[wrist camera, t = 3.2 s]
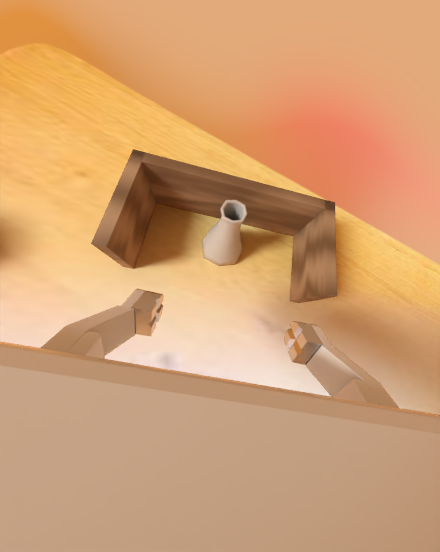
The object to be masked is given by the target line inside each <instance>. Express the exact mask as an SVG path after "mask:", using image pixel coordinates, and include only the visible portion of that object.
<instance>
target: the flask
mask: <svg viewBox="0 0 440 552" xmlns="http://www.w3.org/2000/svg"><path fill="white" fill-rule="evenodd" d="M221 215H222V216H221V219H220V221H219V222H218V223H217V224H216V225H214V226H213V227H212V228H211V229H210V230H209V231H208V233H207V235H206V236H205V238H204V239H203V241H202V248H203V255H204V258H205V259H207V260H209V261H211V262H213V263H214V264H216V265H218V266H222V265H232V264H236V262H237V260H238V258H239V256H240V254H241V252H242V245H241V238H240V225H241V224H242V223H243V221H244V220H245V218H246V216H247V210H246V205H245V204H243V203H241V202H239V201H237V200H226V201H225V202H224V204H223V205H222V207H221Z"/></svg>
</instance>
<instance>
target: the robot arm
mask: <svg viewBox="0 0 440 552" xmlns="http://www.w3.org/2000/svg"><path fill="white" fill-rule="evenodd" d="M162 301H163V294H159V293H155V292H150V291H145V290H141V289H136V290H135V291H134V292H133V293H132V294H131V295H130V296H129V297H128V299H127V300H126V301H125V302H124V303H123V304H122V305H121V306H116V307H113V308H111V309H108V310H106V311H103V312H101V313H98V314H95V315H93V316H90V317H88V318H85V319H83V320H80V321H78V322H75V323H72V324H70V325H67V326H65V327H64V328H63V329H62V330H61V331H59V332H58V333H57V334H56V335H55V336H54V337H53V338H51V339H50V340H49V341H48V342H47V343H46V344H45V345H43V346H42V347H41V348H36V347H30V346H24V345H18V344H12V343H6V342H0V552H440V415H437V414H431V413H425V412H419V411H413V410H407V409H401V408H399V407H398V406H397V405H396V403H395V402H394V401H393V399H392V398H391V397H390V396H389V394H388V393H387V392H386V390H385V389H384V388H383V387H382V385H381V384H380V383H379V382H378V381H377V380H375V379H374V378H373V377H372V376H370V375H369V374H368V373H367V372H365V371H364V370H363V369H362V368H360V367H359V366H358V365H356V364H355V363H354V362H353V361H351V360H350V359H349V358H348V357H346V356H345V355H344V354H343V353H341V352H340V351H339V350H337V349H336V348H334V347H332V345H331V344H330V342H329V341H328V339H327V338H326V336H325V335H324V333H323V332H322V330H321V329H320V327H319V326H317V325H313V324H306V323H301V322H296V321H293V322H292V323H291V325H290V327H291V328H290V329H289V330H287V331H286V333H285V337H284V340H285V344H286V346H287V347H288V348H289V355H290V357H291V360H292V362H295V363H300V364H304V365H306V367H307V368H308V369H309V370H310V371H311V373H312V374H313V375H314V376H315V377H316V379H317V380H318V381H319V382H320V384H321V385H322V386H323V387H324V388H325V390H326V391H327V392H328V393H329V394H330V396H331V397H329V396H323V395H317V394H311V393H305V392H299V391H293V390H287V389H281V388H275V387H269V386H263V385H257V384H251V383H245V382H239V381H233V380H227V379H221V378H215V377H210V376H204V375H198V374H192V373H186V372H180V371H174V370H168V369H162V368H156V367H150V366H144V365H138V364H132V363H126V362H120V361H114V360H108V359H105V357H104V356H105V355H107V354H108V353H110V352H111V351H112V350H114V349H115V348H117V347H118V346H120V345H121V344H122V343H124V342H125V341H127V340H128V339H130V338H131V337H133V336H134V335H135V334H140V335H146V336H151V335H152V333H153V331H154V329H155V327H156V322H158V321H159V319H160V317H161V314H162V309H163V305H162V304H161V303H162Z"/></svg>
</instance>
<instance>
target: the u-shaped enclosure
mask: <svg viewBox="0 0 440 552" xmlns="http://www.w3.org/2000/svg"><path fill="white" fill-rule="evenodd" d="M226 200H237V201H239V202H241V203H243V204H245V205H246V210H247V216H246V218H245V220H244V221H243V223H242V224H245V225H249V226H253V227H257V228H261V229H266V230H270V231H274V232H278V233H282V234H286V235H291V236H294V238H293V255H292V272H291V289H290V301H292V302H297V303H301V302H306V301H312V300H318V299H324V298H330V297H336V296H337V273H336V227H335V202H331V201H327V200H323V199H319V198H316V197H312V196H308V195H304V194H301V193H297V192H293V191H289V190H285V189H282V188H278V187H274V186H270V185H266V184H263V183H259V182H255V181H251V180H248V179H244V178H240V177H236V176H232V175H229V174H225V173H221V172H217V171H213V170H210V169H206V168H202V167H198V166H195V165H191V164H187V163H183V162H179V161H176V160H172V159H168V158H164V157H160V156H157V155H153V154H149V153H145V152H142V151H138V150H134V149H133V151H132V153H131V155H130V158H129V160H128V162H127V164H126V167H125V169H124V171H123V173H122V176H121V178H120V180H119V182H118V185H117V187H116V189H115V191H114V193H113V196H112V198H111V200H110V202H109V205H108V207H107V209H106V211H105V214H104V216H103V218H102V220H101V223H100V225H99V227H98V229H97V232H96V234H95V236H94V238H93V241H92V243H91V244H93V245H94V246H95V247H97V248H98V249H99V250H101V251H102V252H104V253H105V254H106V255H108V256H109V257H111V258H112V259H113V260H115V261H116V262H117V263H119V264H120V265H122V266H123V267H128V268H134V265H135V263H136V260H137V257H138V254H139V251H140V248H141V245H142V242H143V240H144V237H145V234H146V231H147V228H148V225H149V222H150V220H151V217H152V214H153V211H154V208H155V205H156V203H158V204H162V205H166V206H170V207H174V208H178V209H183V210H187V211H191V212H195V213H199V214H203V215H208V216H212V217H216V218H220V219H221V216H222V215H221V207H222V205H223V204H224V202H225V201H226Z"/></svg>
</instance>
